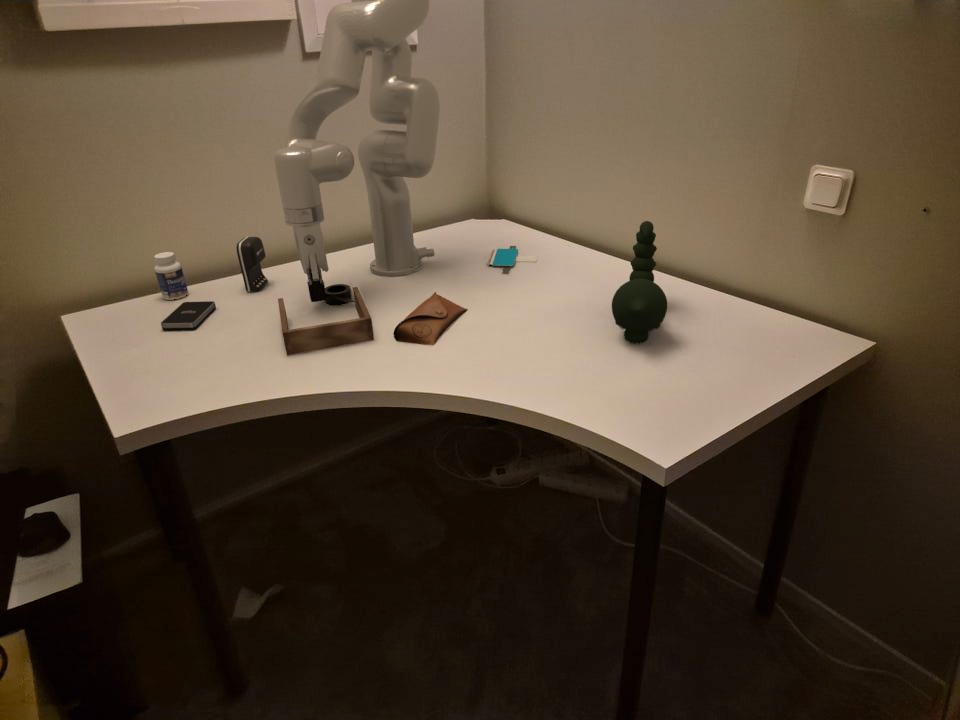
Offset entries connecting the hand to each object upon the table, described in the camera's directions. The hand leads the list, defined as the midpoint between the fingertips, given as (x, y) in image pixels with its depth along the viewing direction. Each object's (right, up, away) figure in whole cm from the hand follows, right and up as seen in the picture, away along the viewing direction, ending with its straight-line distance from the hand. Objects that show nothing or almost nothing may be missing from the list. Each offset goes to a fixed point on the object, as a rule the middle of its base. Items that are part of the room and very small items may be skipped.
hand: (318, 299), depth 132 cm
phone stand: (+42, +11, +23) cm, 49 cm away
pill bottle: (-34, +2, +9) cm, 36 cm away
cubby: (+4, -6, -9) cm, 11 cm away
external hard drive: (-26, -5, -2) cm, 26 cm away
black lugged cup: (+3, 0, +4) cm, 5 cm away
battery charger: (-17, +4, +12) cm, 21 cm away
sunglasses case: (+25, -6, -8) cm, 27 cm away
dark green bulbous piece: (+64, -6, -13) cm, 65 cm away
